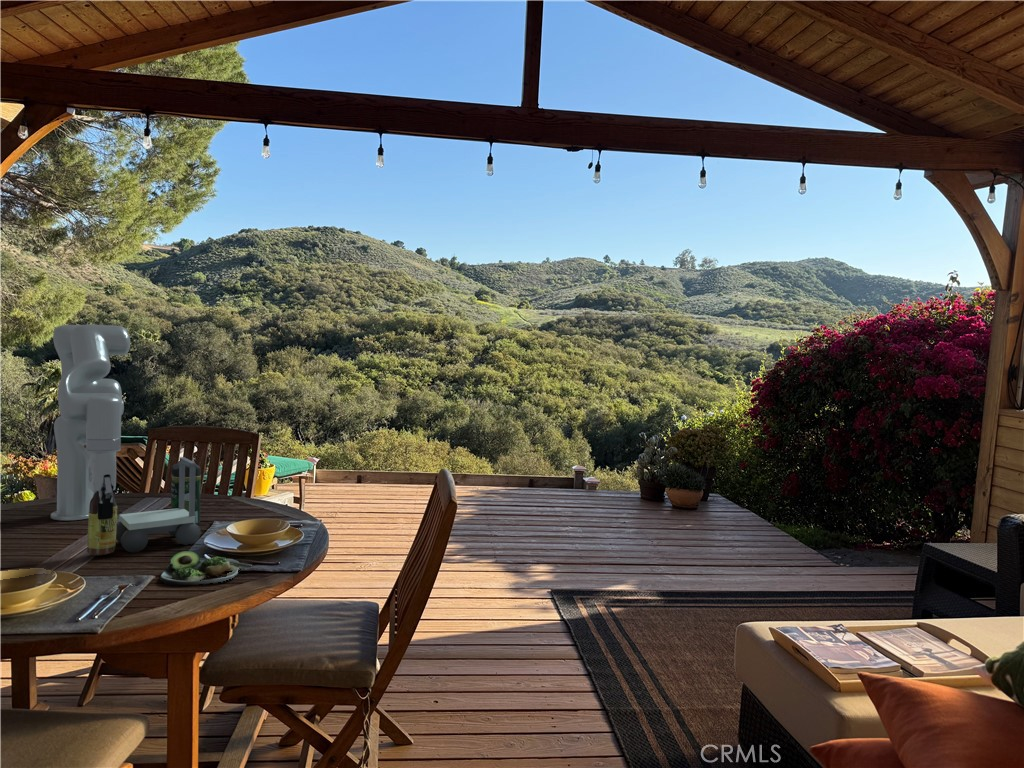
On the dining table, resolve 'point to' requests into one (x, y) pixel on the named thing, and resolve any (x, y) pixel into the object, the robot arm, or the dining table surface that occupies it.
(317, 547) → the dining table surface
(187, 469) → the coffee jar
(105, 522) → the sauce bottle
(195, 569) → the salad plate
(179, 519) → the trolley
